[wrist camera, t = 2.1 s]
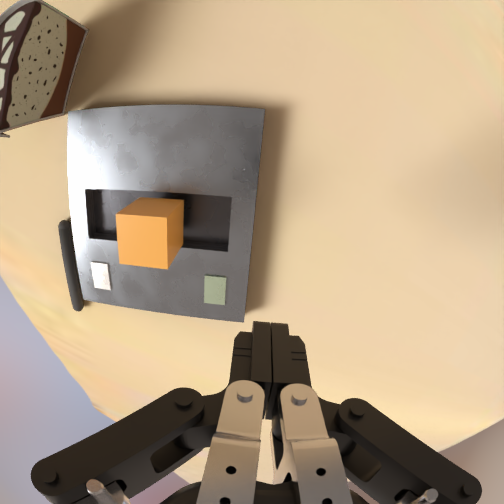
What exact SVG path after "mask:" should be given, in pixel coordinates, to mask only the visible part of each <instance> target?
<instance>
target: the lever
mask: <svg viewBox="0 0 504 504" xmlns="http://www.w3.org/2000/svg"><path fill="white" fill-rule="evenodd" d="M183 218H184V200H178V199H163V198H147V197H140V198H138V199H137V200H135V201H134V202H132V203H131V204H129V205H128V206H126V207H125V208H123V209H122V210H121V211H119V212H118V213H116V228H117V242H118V253H119V264H126V265H134V266H142V267H151V268H160V269H168V268H169V267H170V265H171V263H172V262H173V260H174V258H175V257H176V255H177V253H178V252H179V250H180V248H181V247H182V245H183Z"/></svg>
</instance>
